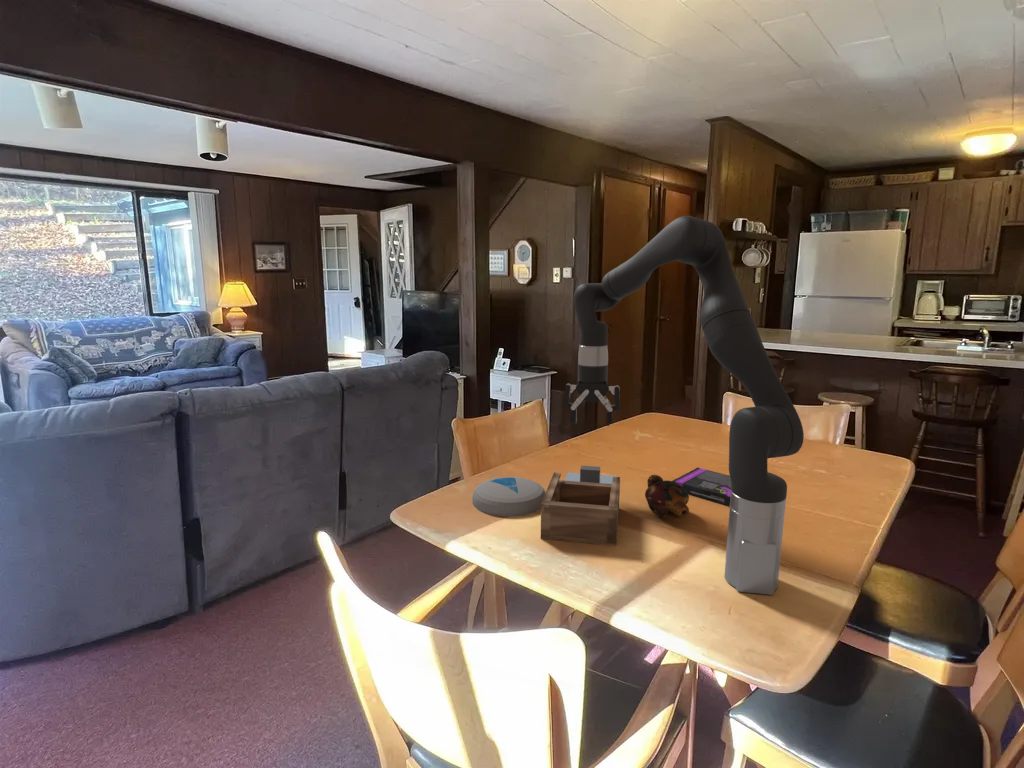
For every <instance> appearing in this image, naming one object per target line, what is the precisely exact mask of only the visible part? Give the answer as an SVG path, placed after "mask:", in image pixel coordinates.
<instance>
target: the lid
mask: <svg viewBox="0 0 1024 768" xmlns="http://www.w3.org/2000/svg"><path fill="white" fill-rule="evenodd" d="M580 466H581V467H580V469H579V473H578V472H567V473H566V477H565V479H564V481H577V482H590V483H604V484H612V481H613V477H619V476H618V475H607V474H601V466H595V465H593V466H592V465H580Z"/></svg>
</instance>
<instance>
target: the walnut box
mask: <svg viewBox="0 0 1024 768" xmlns="http://www.w3.org/2000/svg"><path fill="white" fill-rule="evenodd" d="M561 476H562V473H561V472H553V475H552V476H551V479H550V481H549V484H548V486H547V489H546V490H545V496H544V498H543V500H542V503H541V509H540V539H542V540H551V541H561V542H569V543H570V542H572V543H581V544H582V543H583V544H592V545H593V544H594V545H604V546H612V545H614V546H613V547H616V546H617V542H618V541H617V538H618V528H619V527H618V526H619V514H620V513H619V512H620V493H621V491H620V490H621V489H620V488H621V477H620V476H618V477H613V481H612V484H604V483H590V482H577V481H565V480H561Z"/></svg>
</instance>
